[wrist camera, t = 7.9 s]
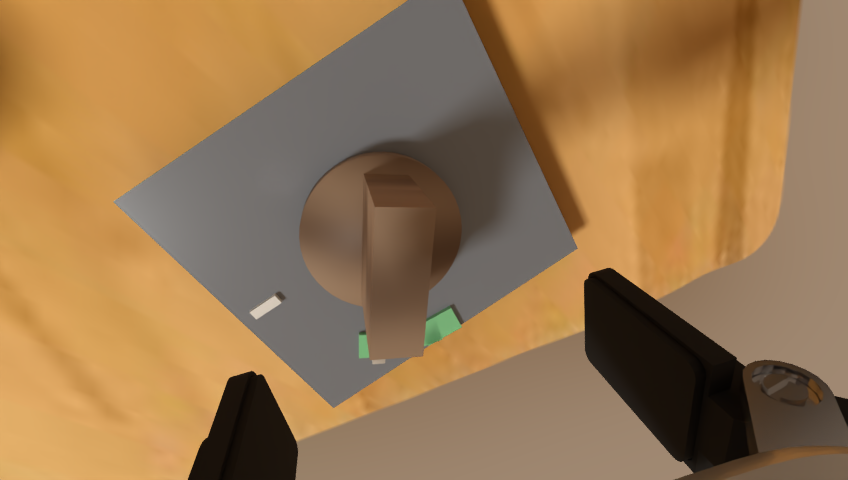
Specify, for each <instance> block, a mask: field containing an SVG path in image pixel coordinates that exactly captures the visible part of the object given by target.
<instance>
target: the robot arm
mask: <svg viewBox="0 0 848 480" xmlns="http://www.w3.org/2000/svg"><path fill="white" fill-rule="evenodd" d="M584 308H585V351H586V355H587V357H588V359H589V361H590V362H591V363H592V365H593V366H594V367H595V368H596V369H597V370H598V371H599V373H600V374H601V375H602V376H603V377H604V378H605V380H606V381H607V382H608V383H609V384H610V385H611V386H612V388H613V389H614V390H615V391H616V392H617V393H618V394H619V396H620V397H621V398H622V399H623V400H624V401H625V402H626V404H627V405H628V406H629V407H630V408H631V409H632V410H633V412H634V413H635V414H636V415H637V416H638V417H639V419H640V420H641V421H642V422H643V423H644V424H645V425H646V427H647V428H648V429H649V430H650V431H651V432H652V433H653V435H654V436H655V437H656V438H657V439H658V440H659V441H660V443H661V444H662V445H663V446H664V447H665V448H666V450H667V451H668V452H669V453H670V454H671V455H672V456H673V457H674V458H675V459H676V460H677V461H680V462H682V461H684V462H685V464H686V465H687V466H688V467H689V468H690V469H691V470H692V471H693V474H690V475H687V476H684V477H681V478H678V479H675V480H848V399H845V398H841V397H836V396H834V394H833V392H832V391H831V390H830V388H829V387H828V385H827V384H826V383H824V382H823V381H822V380H821V379H820V378H819V377H817V376H816V375H814V374H812V373H811V372H809V371H807V370H805V369H803V368H800V367H798V366H795V365H793V364H789V363H785V362H780V361H773V360H761V361H755V362H752V363H750V364H748V365H747V366H746V367H745V366H744V365H743V364H741V363H740V362H738V361H737V360H736V359H737V358H736V357H735V356H733V355H732V354H730V353H729V352H727V351H726V350H725V349H724V348H722V347H721V346H719V345H718V344H717V343H715V342H714V341H712V340H711V339H709V338H708V337H707V336H705V335H704V334H703V333H701V332H700V331H699V330H697V329H696V328H694V327H693V326H692V325H690V324H689V323H687V322H686V321H685V320H683V319H682V318H680V317H679V316H678V315H676V314H675V313H673V312H672V311H671V310H669V309H668V308H666V307H665V306H664V305H662V304H661V303H659V302H658V301H657V300H655V299H654V298H653V297H651V296H650V295H648V294H647V293H646V292H644V291H643V290H641V289H640V288H639V287H637V286H636V285H634V284H633V283H632V282H630V281H629V280H627V279H626V278H625V277H623V276H622V275H620V274H619V273H618V272H616V271H615V270H613V269H611V268H606V269H603V270H599V271H596V272H592V273H590V274H589V276H588V279H586V280H585V282H584ZM297 457H298V448H297V443H296V440H295V438H294V436H293V434H292V432H291V430H290V428H289V426H288V424H287V422H286V420H285V418H284V416H283V414H282V412H281V410H280V408H279V406H278V404H277V402H276V400H275V398H274V396H273V394H272V392H271V390H270V388H269V386H268V384H267V382H266V380H265V378H264V376H263V375H262V374H260V375H256V373H255V372H253V371H250V372H247V373H244V374H240V375H237V376H233V377H231V378H229V380H228V382H227V384H226V387H225V390H224V393H223V396H222V399H221V401H220V404H219V407H218V410H217V413H216V416H215V418H214V421H213V424H212V427H211V430H210V433H209V436H208V438H206V439H205V440H204V441H203V442H202V444H201V446H200V448H199V450H198V453H197V456H196V459H195V461H194V464H193V467H192V470H191V472H190V475H189V478H188V480H295V477H296V466H297Z"/></svg>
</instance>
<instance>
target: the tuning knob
mask: <svg viewBox="0 0 848 480" xmlns="http://www.w3.org/2000/svg"><path fill="white" fill-rule="evenodd" d="M461 233H462V224H461V215H460V211H459V207H458V205H457V202H456V199H455V197H454V195H453V194H452V192H451V190H450V189H449V187H448V186H447V185H446V183H445V182H444V181H443V180H442V179H441V178H440V177H439V176H438V175H437V174H436V173H435V172H434V171H432V170H431V169H430V168H428V167H427V166H426V165H425V164H423V163H421V162H419V161H418V160H416V159H413V158H411V157H408V156H406V155H402V154H398V153H393V152H370V153H363V154H360V155H356V156H353V157H350V158H348V159H346V160H344V161H342V162H340V163H338V164H337V165H335V166H334V167H332V168H331V169H330V170H329V171H327V172H326V173H325V174H324V175H323V176H322V177H321V178H320V179H319V180H318V181H317V183H316V184H315V186H314V187H313V188H312V190H311V192H310V194H309V196H308V198H307V200H306V202H305V205H304V208H303V212H302V216H301V221H300V227H299V241H300V249H301V252H302V256H303V259H304V261H305V264H306V266H307V268H308V270H309V271H310V273H311V275H312V276H313V277H314V278H315V280H316V281H317V282H318V283H319V284H320V285H321V286H322V287H323V288H324V289H325V290H326V291H328V292H329V293H331V294H332V295H333V296H335V297H337V298H339V299H341V300H343V301H345V302H348V303H350V304H354V305H358V306H362V307H363V313H364V320H365V328H366V336H367V343H368V351H369V358H370V360H372V364H383V363H385V359H394V358H407V357H421V356H423V351H424V340H425V329H426V318H427V307H428V296H429V290H431V289H432V288H433V287H434V286H435V285H436V284H438V283H439V282H440V281H441V280H442V278H443V277H444V276H445V275H446V273H447V272H448V271H449V269H450V267H451V266H452V264H453V262H454V260H455V258H456V256H457V253H458V250H459V246H460V241H461Z"/></svg>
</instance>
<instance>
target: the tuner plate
mask: <svg viewBox="0 0 848 480" xmlns="http://www.w3.org/2000/svg"><path fill="white" fill-rule="evenodd" d="M370 152H393V153H398V154H402V155H406V156H408V157H411V158H413V159H416V160H418V161H419V162H421V163H423V164H425V165H426V166H427V167H428V168H430V169H431V170H432V171H434V172H435V173H436V174H437V175H438V176H439V177H440V178H441V179H442V180H443V181H444V182H445V183H446V185H447V186H448V187H449V189H450V190H451V192H452V194H453V195H454V197H455V199H456V202H457V205H458V207H459V211H460V215H461V224H462V233H461V241H460V246H459V250H458V253H457V256H456V258H455V260H454V262H453V264H452V266H451V267H450V269H449V271H448V272H447V273H446V275H445V276H444V277H443V278H442V280H441V281H440V282H439V283H438V284H436V285H435V286H434V287H433V288H432V289H431V290H429V296H428V307H427V318H426V329H425V340H424V349H425V348H426V347H428V346H429V345H431V344H433V343H434V342H437V341H439V340H442V338H443V337H445V336H447V335H449V334H451V333H452V332H454V331H456V330H458V329H459V328H461V327H462V326H461V324H463V323H464V322H466V321H467V320H469V319H470V318H472V317H474V316H475V315H477V314H478V313H480V312H481V311H483V310H484V309H486V308H487V307H489V306H490V305H492V304H493V303H495V302H496V301H498V300H500V299H501V298H503V297H504V296H506V295H507V294H509V293H510V292H512V291H513V290H515V289H516V288H518V287H519V286H521V285H522V284H524V283H526V282H527V281H529V280H530V279H532V278H533V277H535V276H536V275H538V274H539V273H541V272H542V271H544V270H545V269H547V268H548V267H550V266H552V265H553V264H555V263H556V262H558V261H559V260H561V259H562V258H564V257H565V256H567V255H568V254H570V253H571V252H573V251H574V250H576V249H578V248H577V246H576V244H575V242H574V239H573V237H572V235H571V233H570V231H569V229H568V227H567V224H566V222H565V220H564V218H563V216H562V214H561V211H560V209H559V207H558V205H557V203H556V201H555V199H554V196H553V194H552V192H551V190H550V188H549V186H548V184H547V181H546V179H545V177H544V175H543V173H542V171H541V168H540V166H539V164H538V162H537V160H536V158H535V156H534V153H533V151H532V149H531V147H530V145H529V143H528V140H527V138H526V136H525V134H524V132H523V130H522V128H521V125H520V123H519V121H518V119H517V117H516V115H515V113H514V110H513V108H512V106H511V104H510V102H509V100H508V97H507V95H506V93H505V91H504V89H503V87H502V85H501V82H500V80H499V78H498V76H497V74H496V72H495V69H494V67H493V65H492V63H491V61H490V59H489V57H488V54H487V52H486V50H485V48H484V46H483V44H482V42H481V39H480V37H479V35H478V33H477V31H476V29H475V26H474V24H473V22H472V20H471V18H470V16H469V14H468V11H467V9H466V7H465V5H464V3H463V1H462V0H408V1H406V2H405V3H404V4H402V5H401V6H399V7H398V8H396V9H395V10H393V11H392V12H390V13H389V14H387V15H386V16H385V17H383V18H382V19H380V20H379V21H377V22H376V23H374V24H373V25H371V26H370V27H368V28H367V29H365V30H364V31H363V32H361V33H360V34H358V35H357V36H355V37H354V38H352V39H351V40H349V41H348V42H346V43H345V44H344V45H342V46H341V47H339V48H338V49H336V50H335V51H333V52H332V53H330V54H329V55H327V56H326V57H324V58H323V59H322V60H320V61H319V62H317V63H316V64H314V65H313V66H311V67H310V68H308V69H307V70H305V71H304V72H303V73H301V74H300V75H298V76H297V77H295V78H294V79H292V80H291V81H289V82H288V83H286V84H285V85H283V86H282V87H281V88H279V89H278V90H276V91H275V92H273V93H272V94H270V95H269V96H267V97H266V98H264V99H263V100H262V101H260V102H259V103H257V104H256V105H254V106H253V107H251V108H250V109H248V110H247V111H245V112H244V113H242V114H241V115H240V116H238V117H237V118H235V119H234V120H232V121H231V122H229V123H228V124H226V125H225V126H223V127H222V128H221V129H219V130H218V131H216V132H215V133H213V134H212V135H210V136H209V137H207V138H206V139H204V140H203V141H201V142H200V143H199V144H197V145H196V146H194V147H193V148H191V149H190V150H188V151H187V152H185V153H184V154H182V155H181V156H180V157H178V158H177V159H175V160H174V161H172V162H171V163H169V164H168V165H166V166H165V167H163V168H162V169H160V170H159V171H158V172H156V173H155V174H153V175H152V176H150V177H149V178H147V179H146V180H144V181H143V182H141V183H140V184H139V185H137V186H136V187H134V188H133V189H131V190H130V191H128V192H127V193H125V194H124V195H122V196H121V197H119V198H118V199H117V200H115V201H114V203H115V204H116V205H117V206H118V207H119V208H120V209H121V210H123V211H124V212H125V213H126V214H127V215H128V216H129V217H130V218H131V219H132V220H133V221H134V222H135V223H136V224H138V225H139V226H140V227H141V228H142V229H143V230H144V231H145V232H146V233H147V234H148V235H149V236H150V237H151V238H152V239H154V240H155V241H156V242H157V243H158V244H159V245H160V246H161V247H162V248H163V249H164V250H165V251H166V252H167V253H169V254H170V255H171V256H172V257H173V258H174V259H175V260H176V261H177V262H178V263H179V264H180V265H181V266H182V267H183V268H185V269H186V270H187V271H188V272H189V273H190V274H191V275H192V276H193V277H194V278H195V279H196V280H197V281H198V282H199V283H201V284H202V285H203V286H204V287H205V288H206V289H207V290H208V291H209V292H210V293H211V294H212V295H213V296H214V297H216V298H217V299H218V300H219V301H220V302H221V303H222V304H223V305H224V306H225V307H226V308H227V309H228V310H229V311H230V312H232V313H233V314H234V315H235V316H236V317H237V318H238V319H239V320H240V321H241V322H242V323H243V324H244V325H245V326H246V327H248V328H249V329H250V330H251V331H252V332H253V333H254V334H255V335H256V336H257V337H258V338H259V339H260V340H261V341H263V342H264V343H265V344H266V345H267V346H268V347H269V348H270V349H271V350H272V351H273V352H274V353H275V354H276V355H277V356H279V357H280V358H281V359H282V360H283V361H284V362H285V363H286V364H287V365H288V366H289V367H290V368H291V369H292V370H294V371H295V372H296V373H297V374H298V375H299V376H300V377H301V378H302V379H303V380H304V381H305V382H306V383H307V384H308V385H310V386H311V387H312V388H313V389H314V390H315V391H316V392H317V393H318V394H319V395H320V396H321V397H322V398H323V399H324V400H326V401H327V402H328V403H329V404H330V405H331V406H332V407H333V408H334V407H336V406H337V405H339V404H340V403H342V402H344V401H345V400H347V399H348V398H350V397H351V396H353V395H354V394H356V393H357V392H359V391H360V390H362V389H363V388H365V387H366V386H368V385H370V384H371V383H373V382H374V381H376V380H377V379H379V378H380V377H382V376H383V375H385V374H386V373H388V372H389V371H391V370H392V369H394V368H396V367H397V366H399V365H400V364H402V363H403V362H405V361H406V360H408V359H409V358H411V357H407V358H394V359H385V363H383V364H372V360H370V358H369V351H368V343H367V336H366V328H365V320H364V313H363V307H362V306H358V305H354V304H350V303H348V302H345V301H343V300H341V299H339V298H337V297H335V296H333V295H332V294H331V293H329V292H328V291H326V290H325V289H324V288H323V287H322V286H321V285H320V284H319V283H318V282H317V281H316V280H315V278H314V277H313V276H312V275H311V273H310V271H309V270H308V268H307V266H306V264H305V261H304V259H303V256H302V252H301V249H300V241H299V227H300V221H301V216H302V212H303V208H304V205H305V202H306V200H307V198H308V196H309V194H310V192H311V190H312V188H313V187H314V186H315V184H316V183H317V181H318V180H319V179H320V178H321V177H322V176H323V175H324V174H325V173H326V172H327V171H329V170H330V169H331V168H332V167H334V166H335V165H337V164H338V163H340V162H342V161H344V160H346V159H348V158H350V157H353V156H356V155H360V154H363V153H370Z"/></svg>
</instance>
